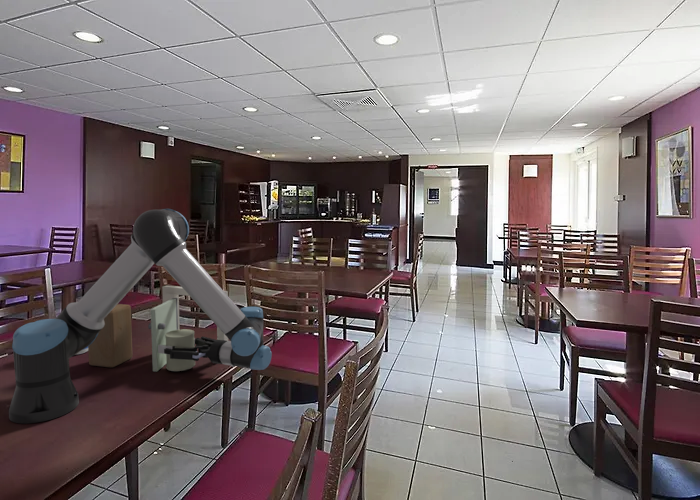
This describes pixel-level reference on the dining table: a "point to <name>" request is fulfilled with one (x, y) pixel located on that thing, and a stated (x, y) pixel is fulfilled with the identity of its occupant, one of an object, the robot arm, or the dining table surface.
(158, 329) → the door
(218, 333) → the door frame
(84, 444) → the dining table surface
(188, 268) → the robot arm
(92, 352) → the wooden block
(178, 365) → the can
